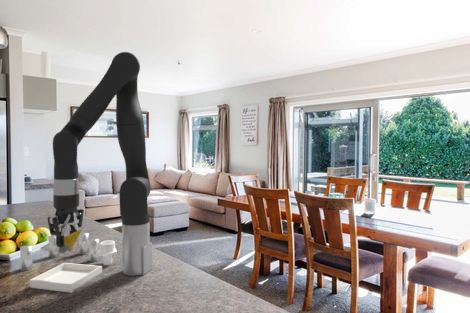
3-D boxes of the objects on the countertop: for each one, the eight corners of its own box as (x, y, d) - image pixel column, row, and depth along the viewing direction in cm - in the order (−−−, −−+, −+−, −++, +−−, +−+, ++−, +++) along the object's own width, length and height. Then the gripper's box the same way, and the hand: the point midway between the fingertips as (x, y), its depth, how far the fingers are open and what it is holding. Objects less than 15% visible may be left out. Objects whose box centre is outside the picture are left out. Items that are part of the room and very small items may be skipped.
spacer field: (110, 253, 134) (110, 234, 134) (71, 275, 112) (71, 252, 111) (64, 249, 139) (64, 231, 138) (18, 270, 116) (17, 248, 116)
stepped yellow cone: (59, 250, 111) (83, 227, 114) (66, 259, 108) (90, 236, 111) (48, 244, 107) (73, 221, 109) (55, 254, 104) (80, 230, 106)
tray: (102, 273, 114) (102, 266, 114) (71, 292, 100) (71, 284, 99) (64, 269, 117) (64, 262, 117) (29, 287, 103) (29, 279, 103)
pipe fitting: (94, 264, 122) (93, 243, 122) (111, 259, 128) (111, 238, 128) (103, 268, 118) (103, 246, 118) (121, 262, 124) (120, 241, 124)
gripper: (60, 196, 99) (60, 252, 100) (90, 189, 113) (91, 238, 114) (39, 195, 101) (39, 250, 102) (71, 189, 115) (72, 237, 116)
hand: (67, 243), depth 108 cm, fingers closed on stepped yellow cone, 5 cm apart
